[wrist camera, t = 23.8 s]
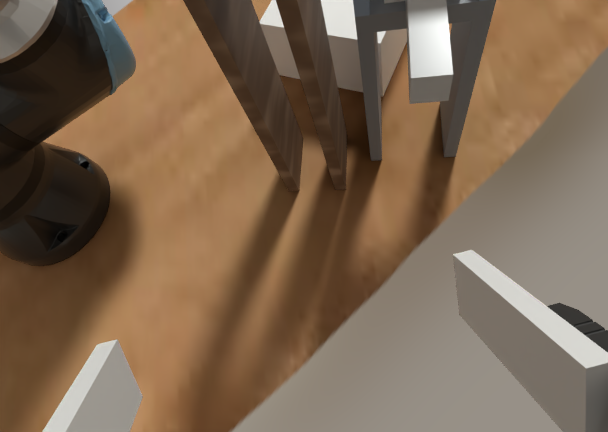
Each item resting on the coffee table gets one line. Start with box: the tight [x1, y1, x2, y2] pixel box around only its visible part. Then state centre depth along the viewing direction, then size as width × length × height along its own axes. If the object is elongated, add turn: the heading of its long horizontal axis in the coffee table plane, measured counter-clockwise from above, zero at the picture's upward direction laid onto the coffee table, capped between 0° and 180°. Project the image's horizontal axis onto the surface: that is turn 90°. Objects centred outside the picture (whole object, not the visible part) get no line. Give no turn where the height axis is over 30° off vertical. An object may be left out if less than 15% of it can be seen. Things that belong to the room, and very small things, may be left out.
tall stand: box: [183, 0, 347, 191], centre depth 34 cm, size 6×7×28 cm
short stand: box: [353, 0, 496, 161], centre depth 36 cm, size 9×7×22 cm
